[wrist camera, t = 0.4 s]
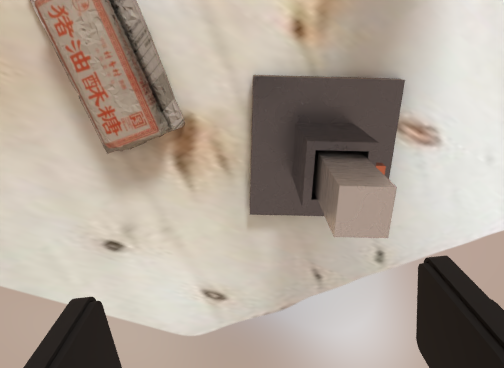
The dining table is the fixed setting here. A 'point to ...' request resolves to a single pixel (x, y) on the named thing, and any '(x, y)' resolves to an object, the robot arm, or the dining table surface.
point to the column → (353, 194)
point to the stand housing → (315, 133)
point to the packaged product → (112, 68)
